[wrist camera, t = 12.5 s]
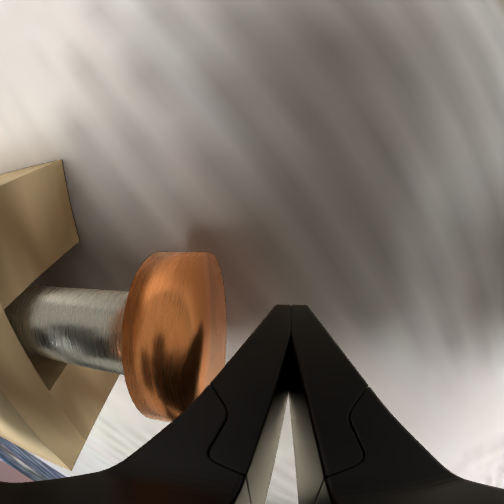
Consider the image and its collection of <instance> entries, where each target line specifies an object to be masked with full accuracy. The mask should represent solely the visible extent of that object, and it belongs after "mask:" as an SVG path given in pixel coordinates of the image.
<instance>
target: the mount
mask: <svg viewBox="0 0 504 504" xmlns="http://www.w3.org/2000/svg"><path fill="white" fill-rule="evenodd" d="M78 242H79V238H78V234H77V230H76V226H75V222H74V218H73V214H72V210H71V205H70V201H69V196H68V191H67V187H66V182H65V176H64V171H63V165H62V160H58V161H53V162H49V163H44V164H40V165H36V166H32V167H28V168H24V169H20V170H16V171H12V172H9V173H5V174H1V175H0V436H1V437H3V438H5V439H7V440H8V441H10V442H12V443H14V444H16V445H18V446H19V447H21V448H23V449H25V450H27V451H29V452H31V453H33V454H35V455H37V456H39V457H41V458H43V459H45V460H48V461H50V462H52V463H54V464H56V465H59V466H61V467H63V468H66V469H68V470H71V471H72V469H73V467H74V465H75V463H76V460H77V458H78V456H79V454H80V452H81V450H82V448H83V446H84V444H85V442H86V440H87V437H88V435H89V433H90V431H91V429H92V427H93V425H94V423H95V421H96V419H97V417H98V415H99V413H100V411H101V409H102V407H103V405H104V403H105V402H106V400H107V398H108V396H109V394H110V392H111V390H112V388H113V386H114V384H115V382H116V380H117V379H118V377H119V375H120V374H117V373H111V372H106V371H101V370H96V369H91V368H86V367H82V366H77V365H73V364H68V363H64V362H60V361H56V360H52V359H48V358H44V357H41V356H37V355H33V354H30V353H26V352H25V351H24V349H23V347H22V346H21V344H20V342H19V340H18V338H17V336H16V334H15V332H14V330H13V328H12V326H11V324H10V322H9V320H8V318H7V316H6V314H5V312H4V309H5V308H6V307H7V306H8V305H9V304H10V303H11V302H12V301H13V300H14V299H15V298H16V297H17V296H19V295H20V294H21V293H22V292H23V291H24V290H25V289H26V288H27V287H28V286H29V285H30V284H31V283H32V282H33V281H35V280H36V279H37V278H38V277H39V276H40V275H41V274H42V273H43V272H44V271H46V270H47V269H48V268H49V267H50V266H51V265H52V264H54V263H55V262H56V261H57V260H58V259H59V258H60V257H62V256H63V255H64V254H65V253H66V252H67V251H69V250H70V249H71V248H72V247H73V246H75V245H76V244H77V243H78Z"/></svg>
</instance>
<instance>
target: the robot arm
mask: <svg viewBox="0 0 504 504" xmlns="http://www.w3.org/2000/svg"><path fill="white" fill-rule="evenodd" d="M288 392H289V402H290V412H291V422H292V433H293V444H294V455H295V466H296V478H297V490H298V503H299V504H504V489H502V488H497V487H493V486H489V485H484V484H480V483H477V482H473V481H469V480H466V479H463V478H461V477H459V476H457V475H455V474H453V473H452V472H450V471H449V470H448V469H446V468H445V467H444V466H443V465H442V464H440V463H439V462H438V461H437V460H436V459H435V458H434V457H433V456H432V455H431V454H430V453H429V452H428V451H427V450H426V449H425V448H424V447H423V446H422V445H421V444H420V443H419V442H418V441H417V440H416V439H415V438H414V437H413V436H412V435H411V434H410V433H409V432H408V431H407V430H406V429H405V428H404V427H403V426H402V425H401V424H400V423H399V422H398V420H397V419H396V418H395V417H394V416H393V415H392V414H391V413H390V412H389V411H388V409H387V408H386V407H385V406H384V404H383V403H382V402H381V401H380V400H379V398H378V397H377V396H376V394H375V393H374V392H373V390H372V389H371V388H370V387H368V384H367V383H366V381H365V380H364V379H363V377H362V376H361V375H360V374H359V372H358V371H357V370H356V368H355V367H354V366H353V364H352V363H351V362H350V361H349V359H348V358H347V357H346V355H345V354H344V353H343V351H342V350H341V349H340V348H339V346H338V345H337V344H336V342H335V341H334V340H333V338H332V337H331V336H330V335H329V333H328V332H327V331H326V329H325V328H324V327H323V325H322V324H321V323H320V322H319V320H318V319H317V318H316V316H315V315H314V314H313V313H312V311H311V310H310V309H309V307H308V306H307V305H275V306H274V307H273V309H272V310H271V311H270V312H269V314H268V315H267V316H266V317H265V319H264V320H263V321H262V322H261V323H260V325H259V326H258V327H257V328H256V330H255V331H254V332H253V333H252V334H251V336H250V337H249V338H248V339H247V340H246V342H245V343H244V344H243V345H242V346H241V348H240V349H239V350H238V351H237V352H236V353H235V355H234V356H233V357H232V358H231V359H230V361H229V362H228V363H227V364H226V365H225V366H224V368H223V369H222V370H221V371H220V372H219V373H218V374H217V376H216V377H215V378H214V379H213V380H212V381H211V383H210V385H208V386H207V387H206V388H205V389H204V390H203V391H202V393H201V394H200V395H199V396H198V397H197V398H196V399H195V400H194V401H193V402H192V403H191V404H190V405H189V406H188V407H187V409H186V410H184V411H183V412H182V413H181V414H180V415H179V416H178V417H177V418H176V419H174V420H173V421H172V422H171V423H170V424H169V425H168V426H166V427H165V428H164V429H163V430H162V431H160V432H159V433H158V434H157V435H155V436H154V437H153V438H152V439H151V440H149V441H148V442H147V443H146V444H144V445H143V446H142V447H141V448H139V449H138V450H137V451H136V452H134V453H133V454H132V455H130V456H129V457H128V458H126V459H125V460H124V461H122V462H120V463H119V464H117V465H115V466H113V467H111V468H109V469H106V470H103V471H99V472H95V473H90V474H84V475H79V476H73V477H66V478H59V479H52V480H44V481H34V482H24V483H8V482H1V481H0V504H265V501H266V496H267V492H268V488H269V484H270V479H271V475H272V471H273V466H274V462H275V457H276V452H277V448H278V443H279V438H280V433H281V428H282V423H283V418H284V413H285V408H286V403H287V398H288Z"/></svg>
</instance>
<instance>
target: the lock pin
mask: <svg viewBox="0 0 504 504" xmlns="http://www.w3.org/2000/svg"><path fill="white" fill-rule="evenodd" d="M4 312H5V314H6V316H7V318H8V320H9V322H10V324H11V326H12V328H13V330H14V332H15V334H16V336H17V338H18V340H19V342H20V344H21V346H22V347H23V349H24V351H25V352H26V353H30V354H33V355H37V356H41V357H44V358H48V359H52V360H56V361H60V362H64V363H68V364H73V365H77V366H82V367H86V368H91V369H96V370H101V371H106V372H111V373H117V374H123V375H124V376H125V381H126V385H127V388H128V391H129V394H130V396H131V398H132V401H133V403H134V404H135V406H136V407H137V409H138V410H139V411H140V412H141V413H142V414H143V415H144V416H146V417H148V418H150V419H155V420H161V421H167V422H172V421H173V420H174V419H176V418H177V417H178V416H179V415H180V414H181V413H182V412H183V411H184V410H186V409H187V407H188V406H189V405H190V404H191V403H192V402H193V401H194V400H195V399H196V398H197V397H198V396H199V395H200V394H201V393H202V391H203V390H204V389H205V388H206V387H207V386H208V385H210V383H211V381H212V380H213V379H214V378H215V377H216V376H217V374H218V373H219V372H220V371H221V370H222V369H223V368H224V366H225V355H226V330H227V324H226V302H225V292H224V284H223V279H222V274H221V270H220V267H219V264H218V262H217V260H216V258H215V256H214V255H213V254H212V253H210V252H157V253H154V254H152V255H151V256H149V257H148V258H147V259H146V260H145V261H144V262H143V264H142V265H141V266H140V268H139V269H138V271H137V273H136V275H135V277H134V279H133V282H132V284H131V287H130V290H129V291H114V290H97V289H82V288H68V287H55V286H43V285H31V284H30V285H29V286H28V287H27V288H26V289H25V290H24V291H23V292H22V293H21V294H20V295H19V296H17V297H16V298H15V299H14V300H13V301H12V302H11V303H10V304H9V305H8V306H7V307H6V308H5V309H4Z"/></svg>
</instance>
